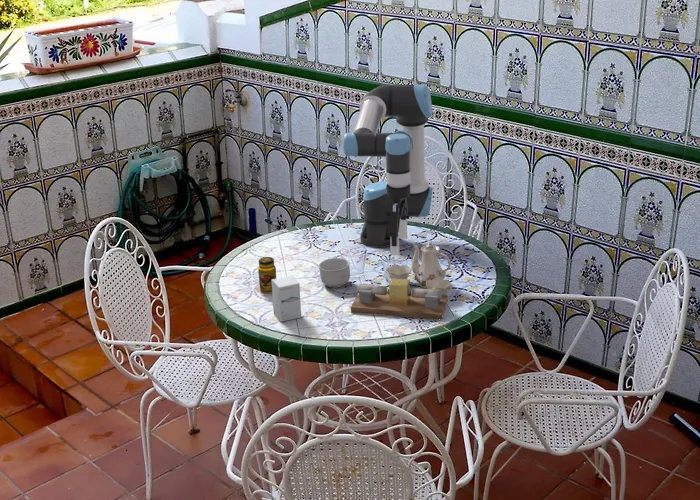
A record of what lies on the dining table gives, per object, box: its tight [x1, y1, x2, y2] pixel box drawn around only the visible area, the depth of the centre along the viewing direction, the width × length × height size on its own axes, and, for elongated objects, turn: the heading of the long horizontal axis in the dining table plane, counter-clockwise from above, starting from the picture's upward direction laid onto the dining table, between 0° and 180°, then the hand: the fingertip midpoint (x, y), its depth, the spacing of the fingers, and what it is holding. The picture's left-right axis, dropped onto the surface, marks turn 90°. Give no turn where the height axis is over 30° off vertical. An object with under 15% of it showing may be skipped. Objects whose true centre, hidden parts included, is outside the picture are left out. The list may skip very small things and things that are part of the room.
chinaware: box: [385, 240, 454, 298], centre depth 291 cm, size 28×17×17 cm, turn 52°
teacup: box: [318, 255, 351, 288], centre depth 299 cm, size 14×11×8 cm
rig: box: [350, 283, 449, 321], centre depth 279 cm, size 14×30×7 cm, turn 76°
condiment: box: [254, 256, 277, 297], centre depth 294 cm, size 7×8×12 cm
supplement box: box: [271, 275, 302, 323], centre depth 275 cm, size 7×7×13 cm
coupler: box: [387, 278, 413, 305], centre depth 278 cm, size 5×8×7 cm, turn 76°
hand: (399, 246), depth 272 cm, fingers open, 13 cm apart
